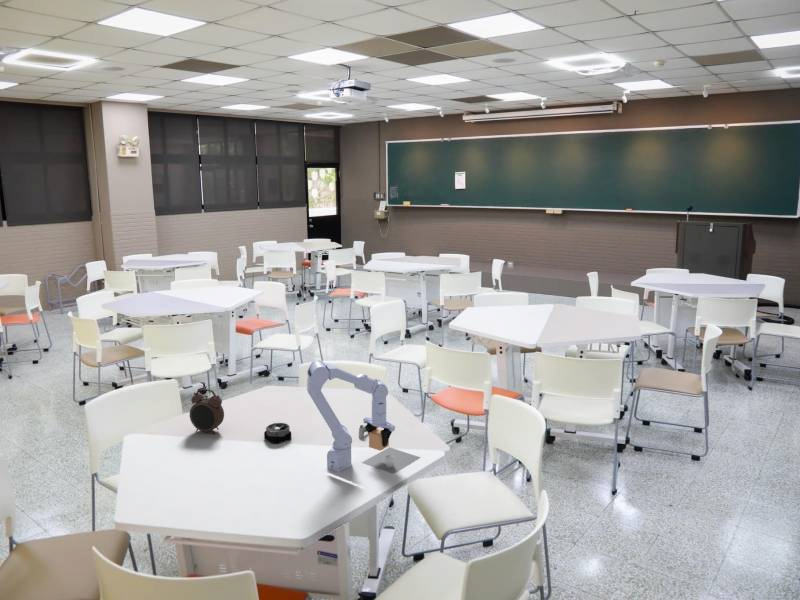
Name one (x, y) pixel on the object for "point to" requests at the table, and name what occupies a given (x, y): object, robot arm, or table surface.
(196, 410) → the alarm clock
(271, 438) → the cpu cooler
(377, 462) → the duct panel
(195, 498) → the table surface
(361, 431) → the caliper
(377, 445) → the orange cube
